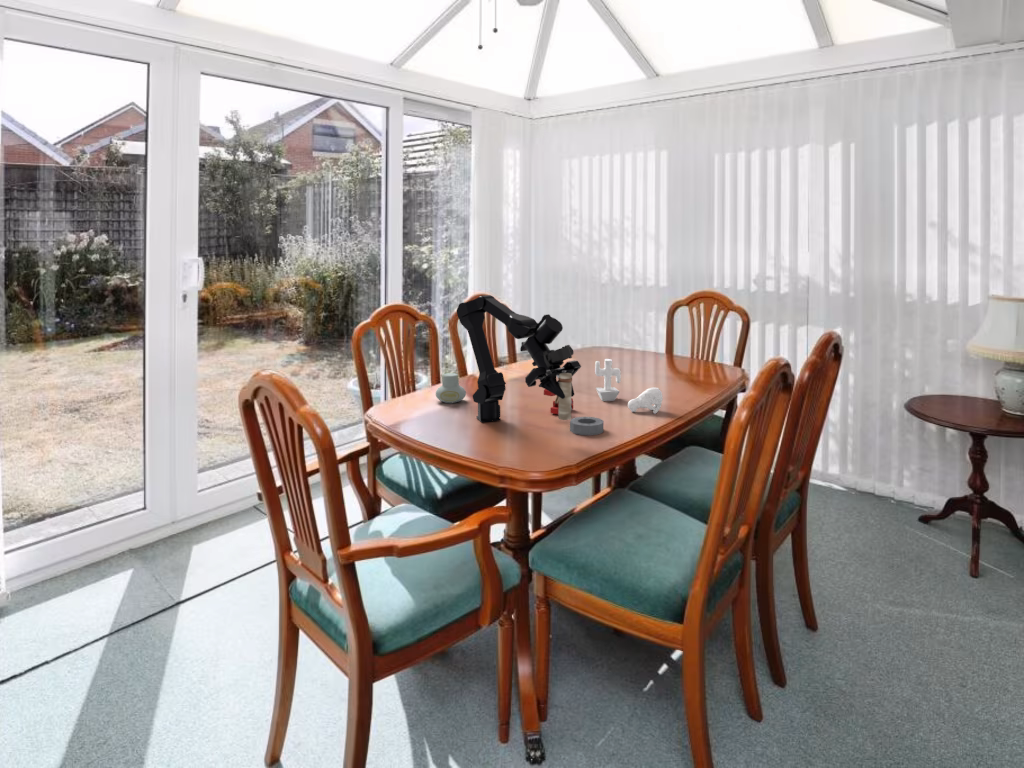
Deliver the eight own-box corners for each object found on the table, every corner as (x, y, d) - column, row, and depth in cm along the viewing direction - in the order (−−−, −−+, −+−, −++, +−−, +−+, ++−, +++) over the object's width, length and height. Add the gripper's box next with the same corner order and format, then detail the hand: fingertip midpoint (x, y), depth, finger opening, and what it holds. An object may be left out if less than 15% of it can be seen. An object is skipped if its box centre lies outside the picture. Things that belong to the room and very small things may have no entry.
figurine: (622, 401, 233) (623, 360, 230) (596, 402, 232) (597, 361, 229) (617, 396, 240) (618, 357, 237) (592, 397, 239) (593, 357, 236)
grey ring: (578, 436, 191) (578, 426, 191) (565, 427, 200) (565, 418, 200) (608, 433, 194) (609, 423, 194) (594, 424, 204) (594, 415, 203)
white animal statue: (663, 389, 214) (629, 392, 214) (664, 413, 216) (630, 416, 216) (658, 385, 220) (625, 388, 220) (660, 408, 222) (626, 412, 222)
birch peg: (561, 420, 183) (561, 375, 180) (555, 417, 186) (556, 373, 184) (573, 419, 184) (574, 374, 181) (568, 416, 188) (568, 372, 185)
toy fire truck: (574, 409, 222) (575, 382, 220) (551, 418, 212) (551, 389, 209) (566, 408, 224) (566, 381, 222) (543, 416, 214) (543, 388, 212)
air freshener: (434, 404, 230) (433, 376, 228) (437, 398, 238) (436, 372, 236) (465, 404, 230) (464, 376, 228) (466, 398, 238) (466, 372, 236)
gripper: (532, 340, 177) (562, 385, 171) (576, 333, 189) (605, 375, 184) (512, 364, 184) (540, 408, 179) (556, 356, 197) (583, 397, 191)
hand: (568, 396), depth 183 cm, fingers closed on birch peg, 4 cm apart
